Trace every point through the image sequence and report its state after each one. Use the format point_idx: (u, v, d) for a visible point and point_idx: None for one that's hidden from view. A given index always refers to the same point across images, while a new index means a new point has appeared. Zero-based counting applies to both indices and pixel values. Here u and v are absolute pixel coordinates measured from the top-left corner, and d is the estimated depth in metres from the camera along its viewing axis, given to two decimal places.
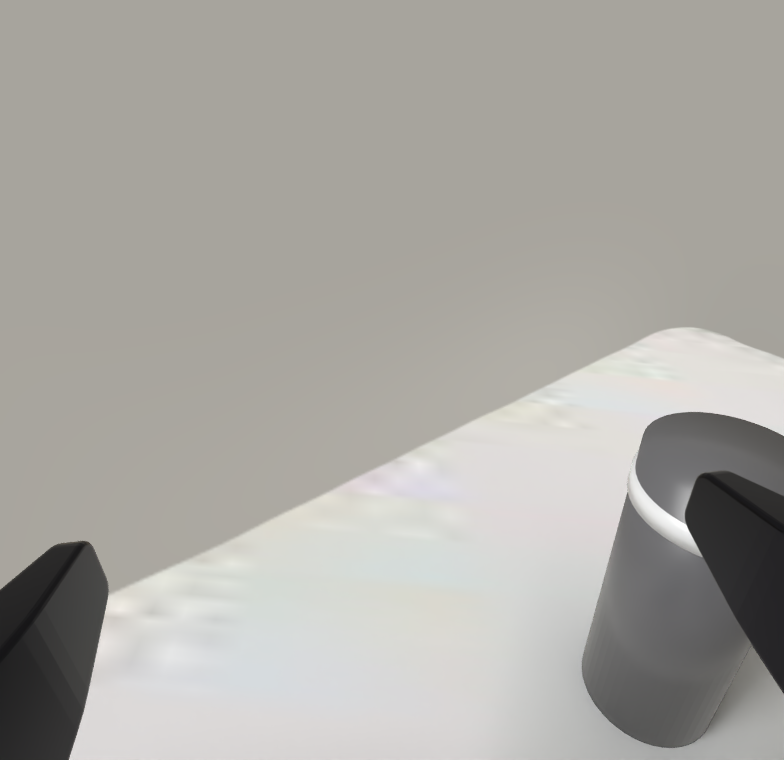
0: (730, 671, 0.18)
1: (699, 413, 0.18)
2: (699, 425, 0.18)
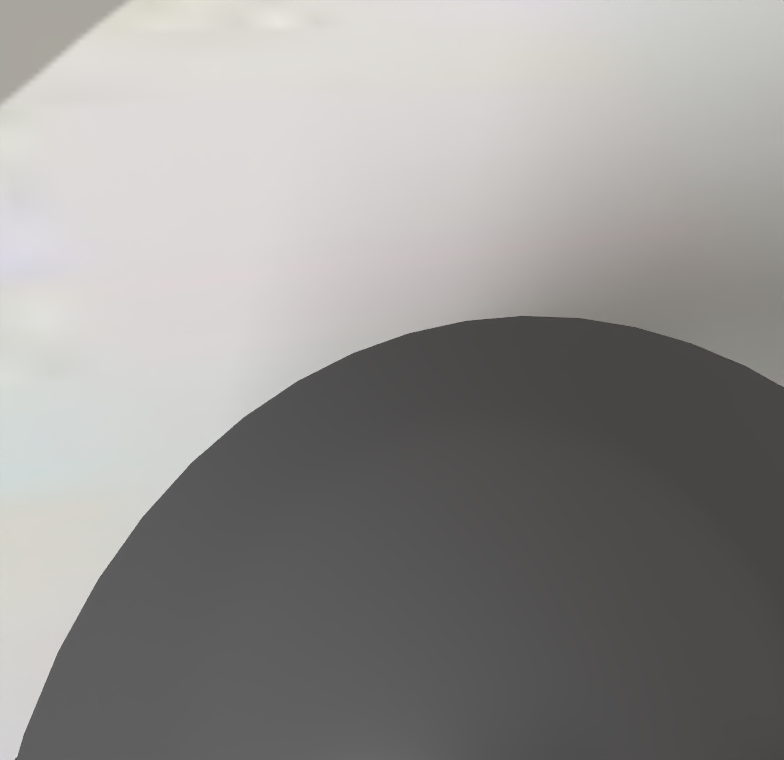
0: None
1: (459, 324, 0.03)
2: (441, 478, 0.03)
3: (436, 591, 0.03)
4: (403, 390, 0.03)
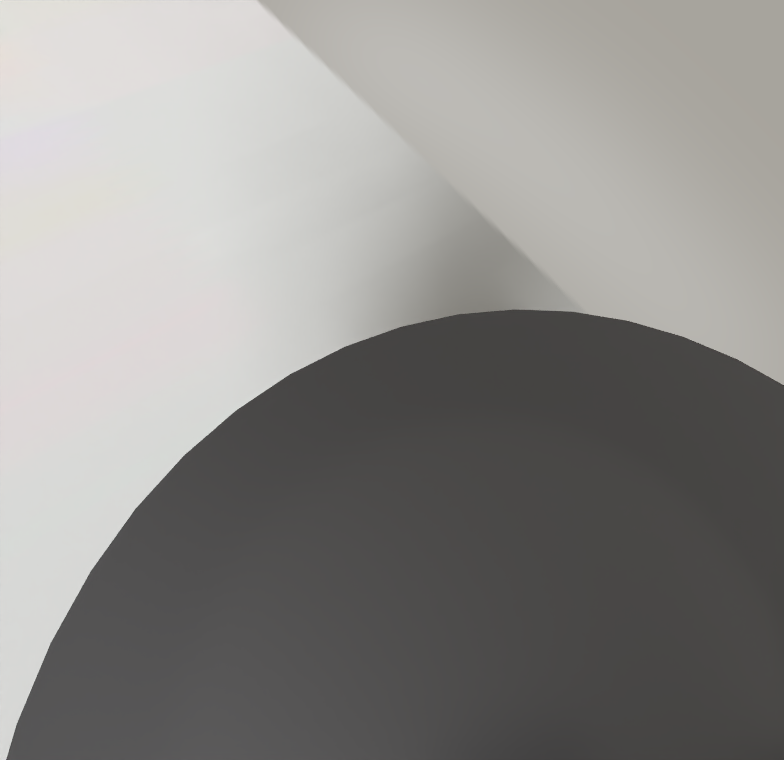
0: None
1: (452, 319, 0.03)
2: (433, 470, 0.03)
3: (427, 582, 0.03)
4: (395, 383, 0.03)
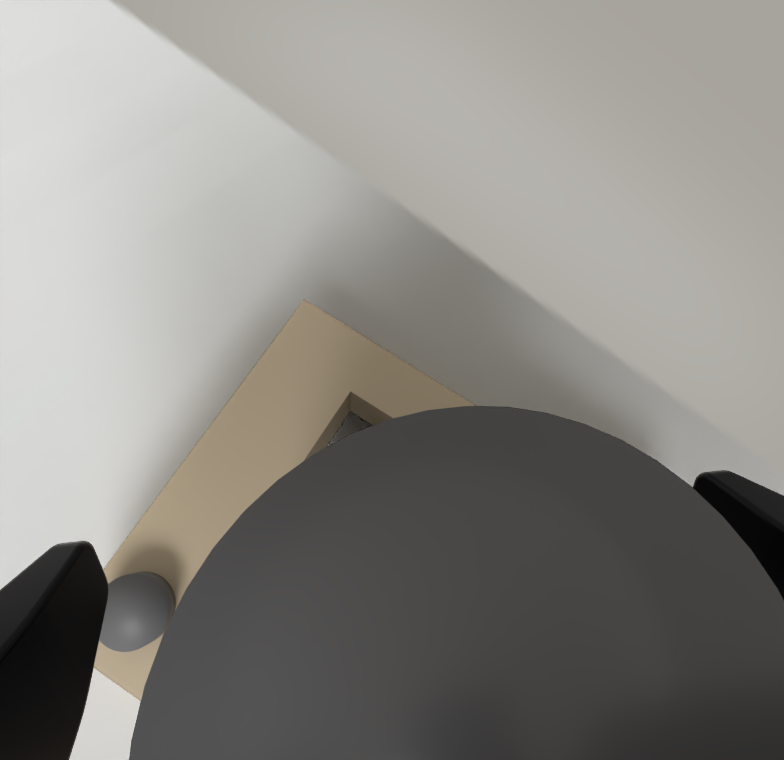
0: None
1: (425, 411, 0.04)
2: (409, 520, 0.04)
3: (405, 595, 0.04)
4: (385, 459, 0.04)
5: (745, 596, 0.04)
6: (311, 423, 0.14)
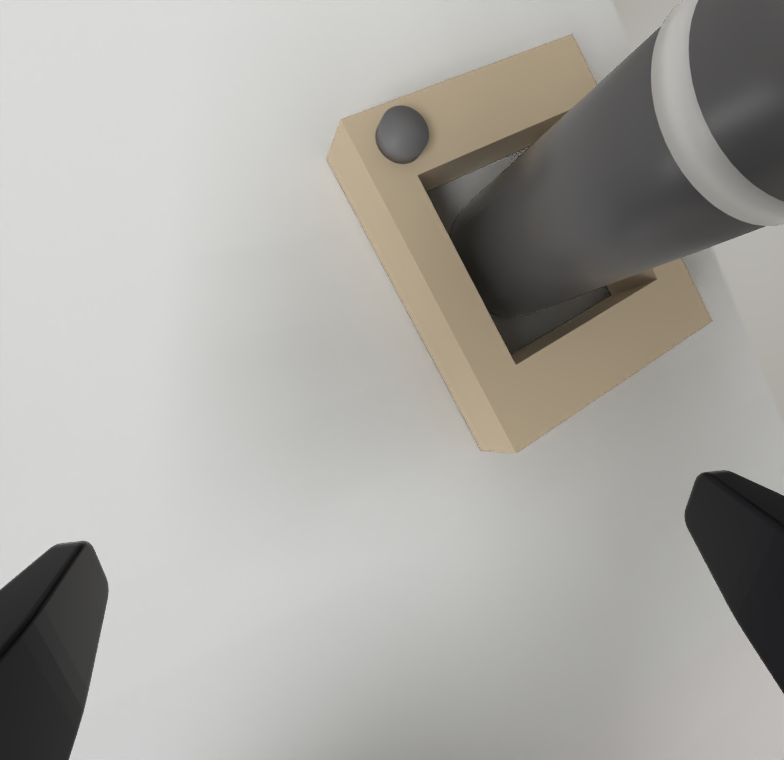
0: (599, 286, 0.16)
1: None
2: None
3: None
4: None
5: None
6: (543, 109, 0.19)
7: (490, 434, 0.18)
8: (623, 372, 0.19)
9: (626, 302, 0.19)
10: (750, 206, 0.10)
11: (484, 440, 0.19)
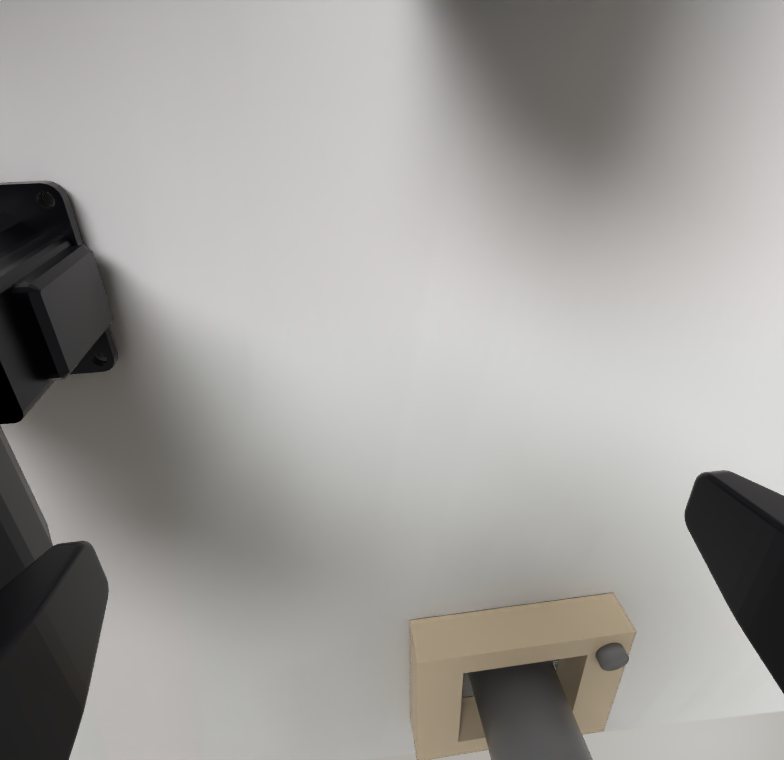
0: (492, 739, 0.28)
1: None
2: None
3: None
4: None
5: None
6: (578, 711, 0.32)
7: (427, 642, 0.28)
8: (421, 717, 0.30)
9: (456, 726, 0.31)
10: None
11: (419, 631, 0.29)
